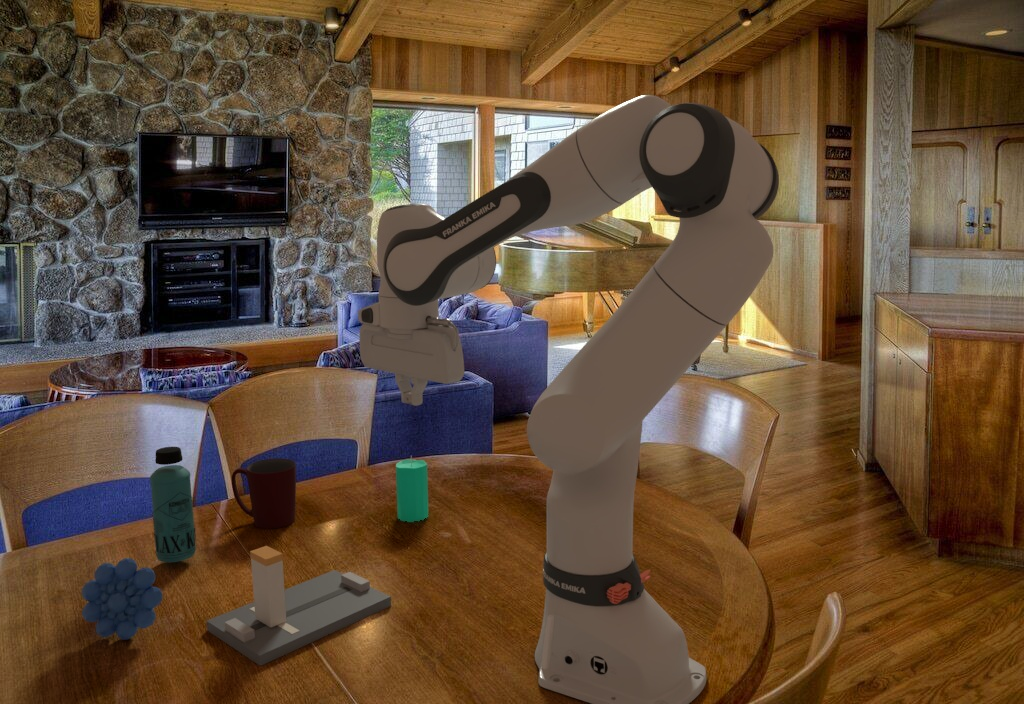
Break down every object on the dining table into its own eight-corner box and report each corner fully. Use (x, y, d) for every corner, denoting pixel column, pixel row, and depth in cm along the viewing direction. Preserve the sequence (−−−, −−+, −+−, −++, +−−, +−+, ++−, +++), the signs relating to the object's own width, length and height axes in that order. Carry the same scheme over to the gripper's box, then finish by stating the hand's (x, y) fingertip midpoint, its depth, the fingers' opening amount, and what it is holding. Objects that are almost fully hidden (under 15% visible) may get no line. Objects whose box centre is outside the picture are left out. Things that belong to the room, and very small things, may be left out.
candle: (423, 523, 159) (421, 461, 157) (393, 521, 161) (390, 460, 158) (432, 511, 165) (431, 452, 163) (403, 509, 166) (401, 450, 164)
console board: (391, 605, 127) (390, 589, 127) (260, 666, 112) (259, 647, 111) (335, 578, 137) (334, 562, 136) (207, 630, 121) (205, 612, 120)
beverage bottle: (147, 566, 142) (136, 451, 138) (180, 552, 148) (170, 441, 144) (175, 574, 139) (164, 456, 135) (206, 559, 145) (197, 445, 141)
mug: (226, 530, 157) (222, 473, 155) (243, 512, 166) (239, 458, 164) (291, 530, 157) (287, 473, 155) (304, 513, 165) (301, 458, 163)
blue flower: (180, 624, 123) (173, 546, 120) (157, 649, 116) (149, 567, 114) (102, 622, 124) (94, 544, 121) (75, 646, 117) (66, 565, 115)
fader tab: (286, 620, 120) (282, 553, 118) (270, 627, 118) (265, 559, 116) (270, 611, 123) (266, 545, 121) (254, 618, 121) (249, 551, 119)
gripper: (473, 317, 123) (475, 410, 125) (383, 306, 136) (386, 390, 139) (440, 322, 118) (443, 419, 121) (350, 310, 132) (355, 397, 134)
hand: (412, 403), depth 130 cm, fingers closed
